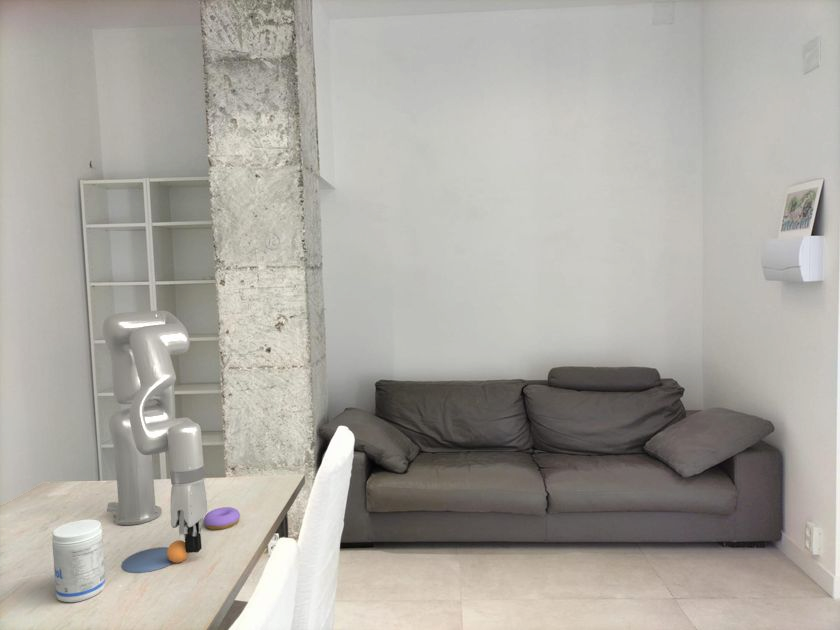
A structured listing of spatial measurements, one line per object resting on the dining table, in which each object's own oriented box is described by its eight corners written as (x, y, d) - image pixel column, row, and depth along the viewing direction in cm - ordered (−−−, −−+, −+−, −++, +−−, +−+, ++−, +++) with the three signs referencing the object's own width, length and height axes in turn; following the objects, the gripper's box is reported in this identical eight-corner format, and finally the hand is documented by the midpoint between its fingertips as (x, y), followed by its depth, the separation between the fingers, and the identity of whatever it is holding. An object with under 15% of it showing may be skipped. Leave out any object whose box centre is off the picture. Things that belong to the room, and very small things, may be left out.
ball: (183, 568, 147) (162, 565, 148) (192, 556, 152) (172, 552, 153) (184, 549, 146) (163, 546, 147) (193, 537, 151) (173, 534, 151)
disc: (110, 572, 145) (110, 571, 145) (139, 547, 158) (139, 547, 158) (163, 572, 144) (163, 572, 144) (189, 547, 157) (189, 547, 157)
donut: (230, 531, 166) (225, 514, 166) (199, 537, 168) (195, 519, 168) (247, 516, 175) (243, 500, 175) (218, 522, 177) (214, 505, 177)
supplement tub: (49, 595, 136) (44, 529, 135) (95, 577, 143) (90, 515, 142) (67, 609, 130) (61, 540, 129) (113, 590, 137) (109, 525, 136)
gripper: (186, 467, 156) (192, 539, 157) (156, 486, 141) (163, 565, 142) (215, 465, 155) (221, 538, 156) (188, 484, 140) (195, 564, 141)
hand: (193, 550), depth 149 cm, fingers closed
